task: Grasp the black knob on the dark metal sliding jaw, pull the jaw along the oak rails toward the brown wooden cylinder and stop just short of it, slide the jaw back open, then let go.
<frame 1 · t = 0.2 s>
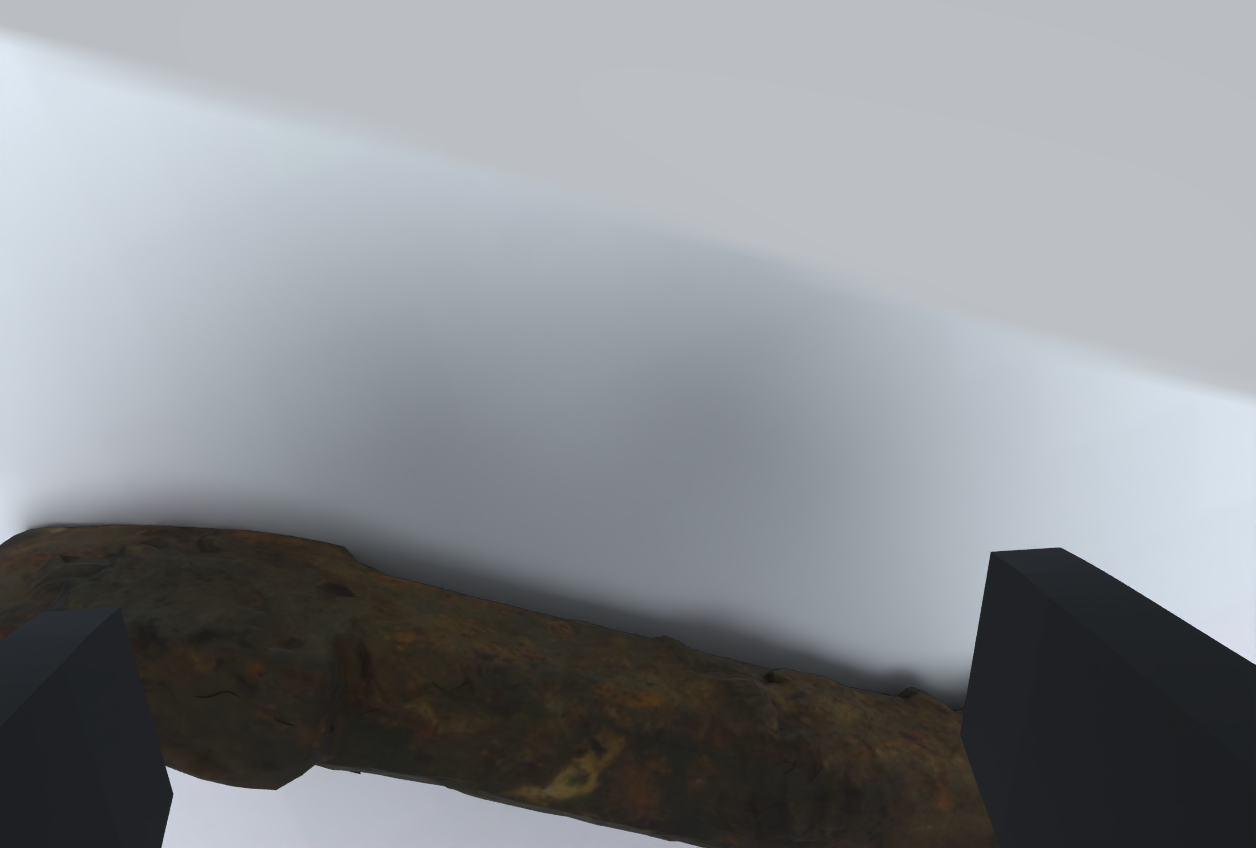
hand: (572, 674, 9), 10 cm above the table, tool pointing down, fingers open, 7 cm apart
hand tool: (528, 667, 21), on the table
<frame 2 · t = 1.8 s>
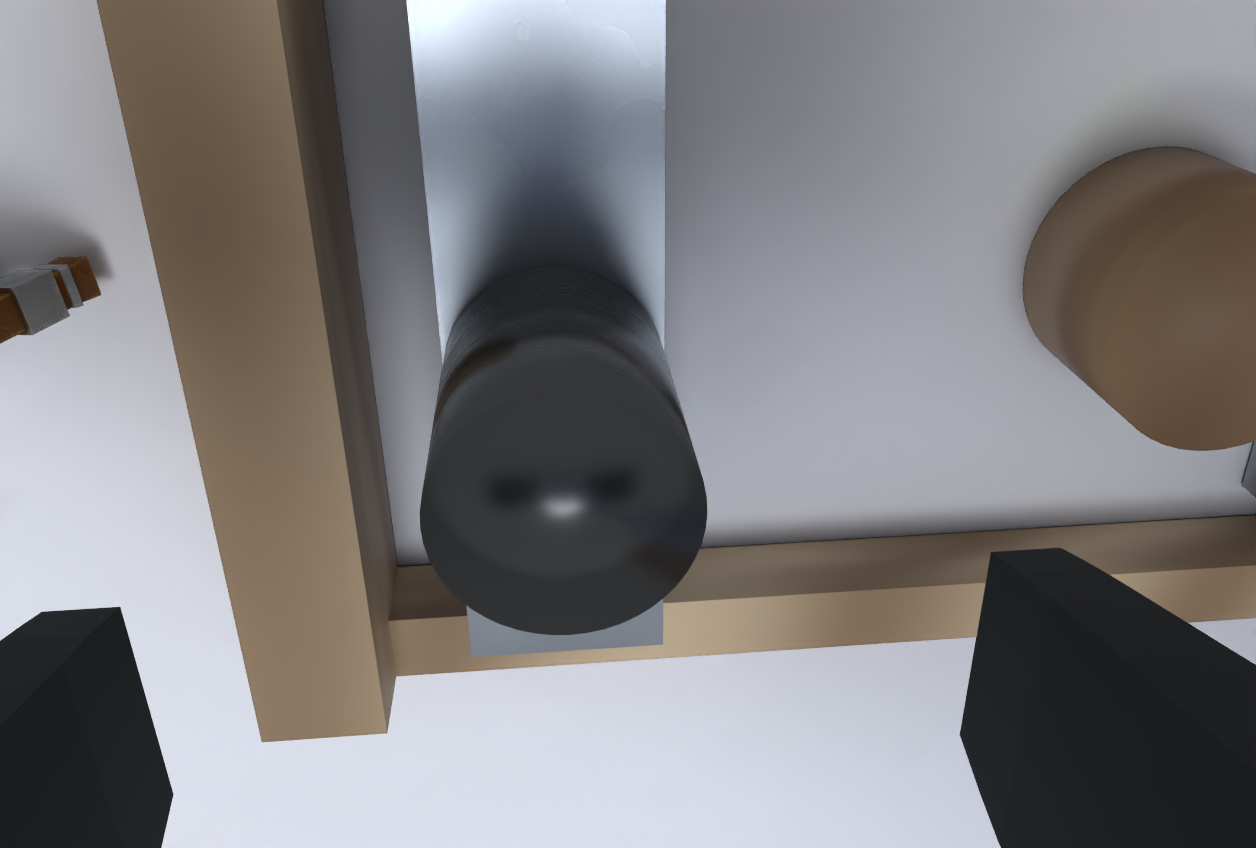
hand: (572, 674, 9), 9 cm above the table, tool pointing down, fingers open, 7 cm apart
sliding jaw: (555, 383, 14), point 4 cm above the table, slide at 0.0 cm
vise frame: (938, 274, 18), on the table
brown wooden cylinder: (1136, 263, 18), resting in vise frame
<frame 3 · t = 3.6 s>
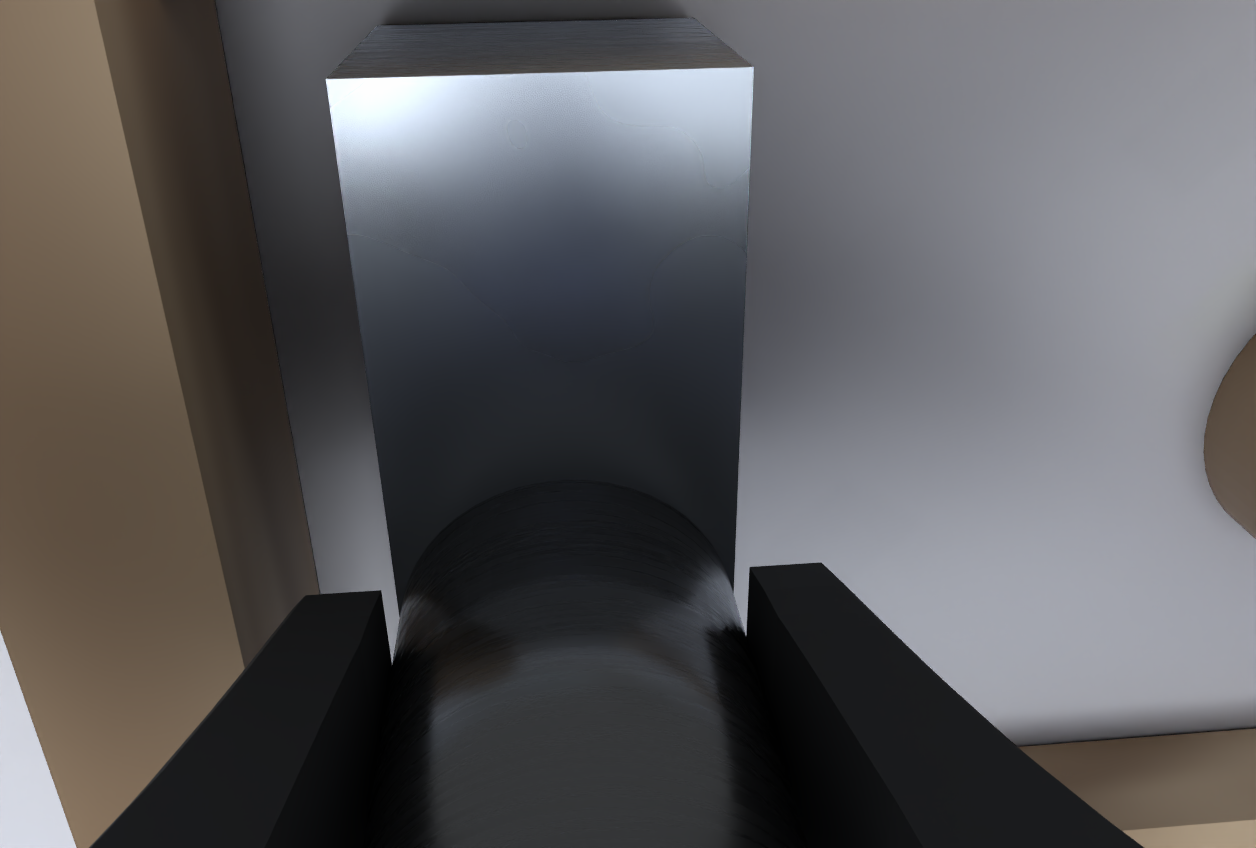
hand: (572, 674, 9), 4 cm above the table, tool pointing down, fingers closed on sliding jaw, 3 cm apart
sliding jaw: (571, 651, 9), point 4 cm above the table, slide at 0.0 cm, touching gripper
vise frame: (1092, 424, 13), on the table
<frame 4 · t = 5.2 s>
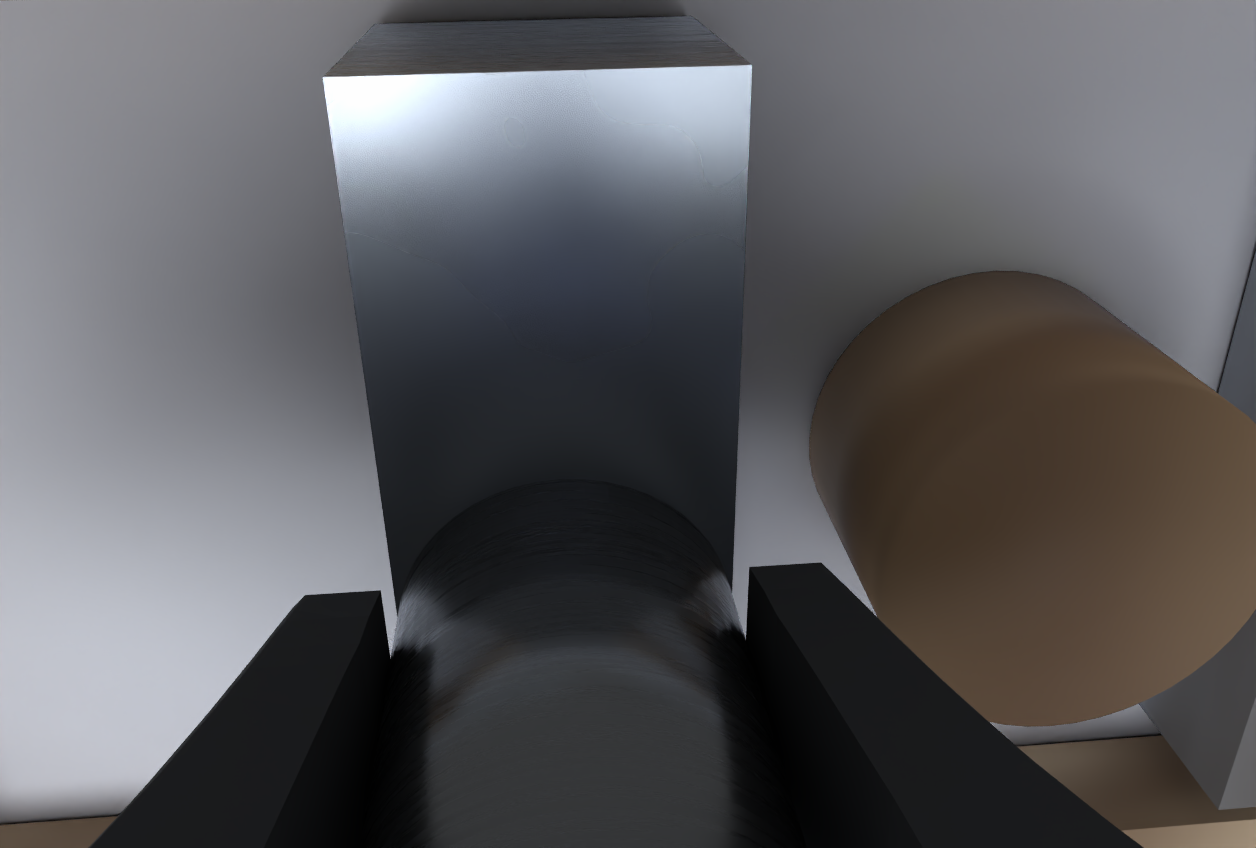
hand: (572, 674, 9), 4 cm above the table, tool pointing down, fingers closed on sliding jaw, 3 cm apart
sliding jaw: (569, 651, 9), point 4 cm above the table, slide at 5.0 cm, touching gripper
vise frame: (685, 446, 13), on the table
brown wooden cylinder: (970, 426, 13), resting in vise frame
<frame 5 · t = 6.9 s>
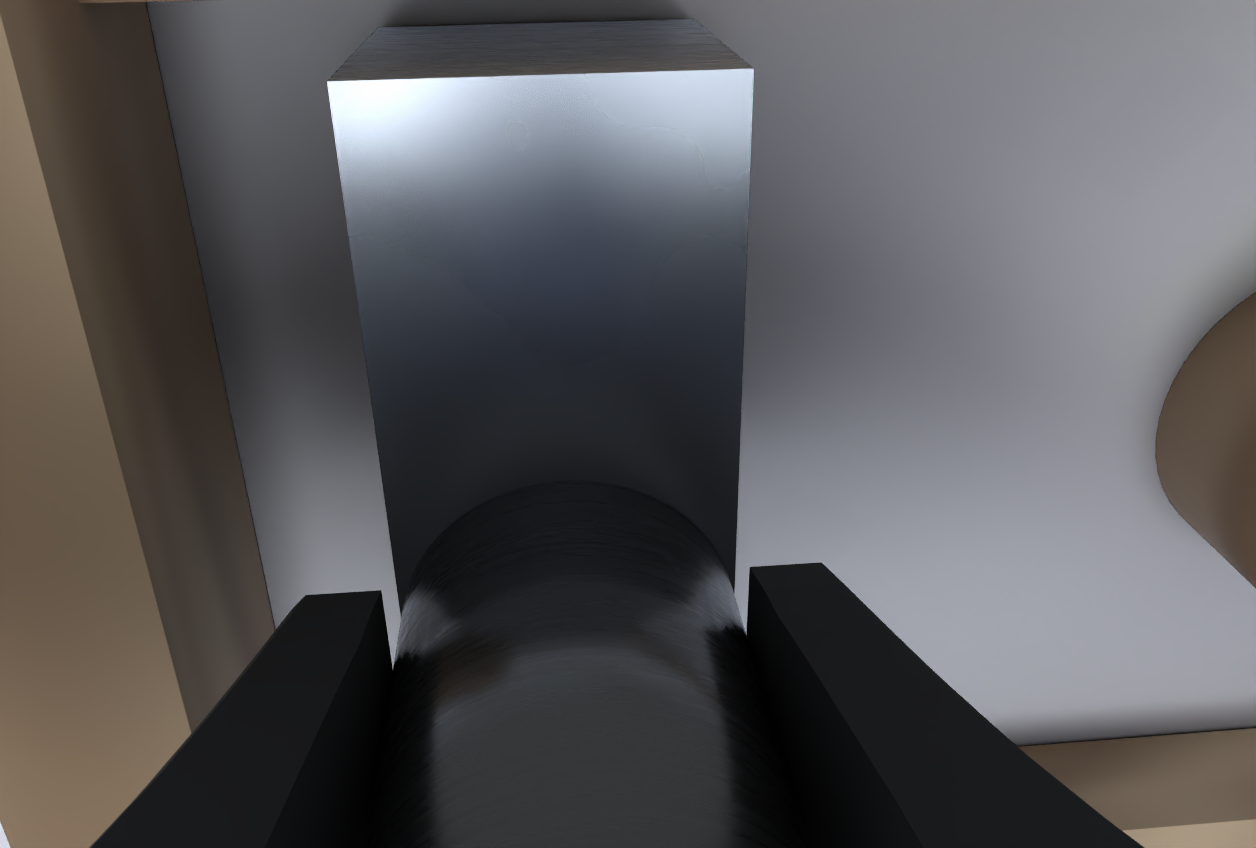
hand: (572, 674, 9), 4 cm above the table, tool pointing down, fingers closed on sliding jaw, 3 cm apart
sliding jaw: (572, 651, 9), point 4 cm above the table, slide at 0.6 cm, touching gripper
vise frame: (1042, 427, 13), on the table
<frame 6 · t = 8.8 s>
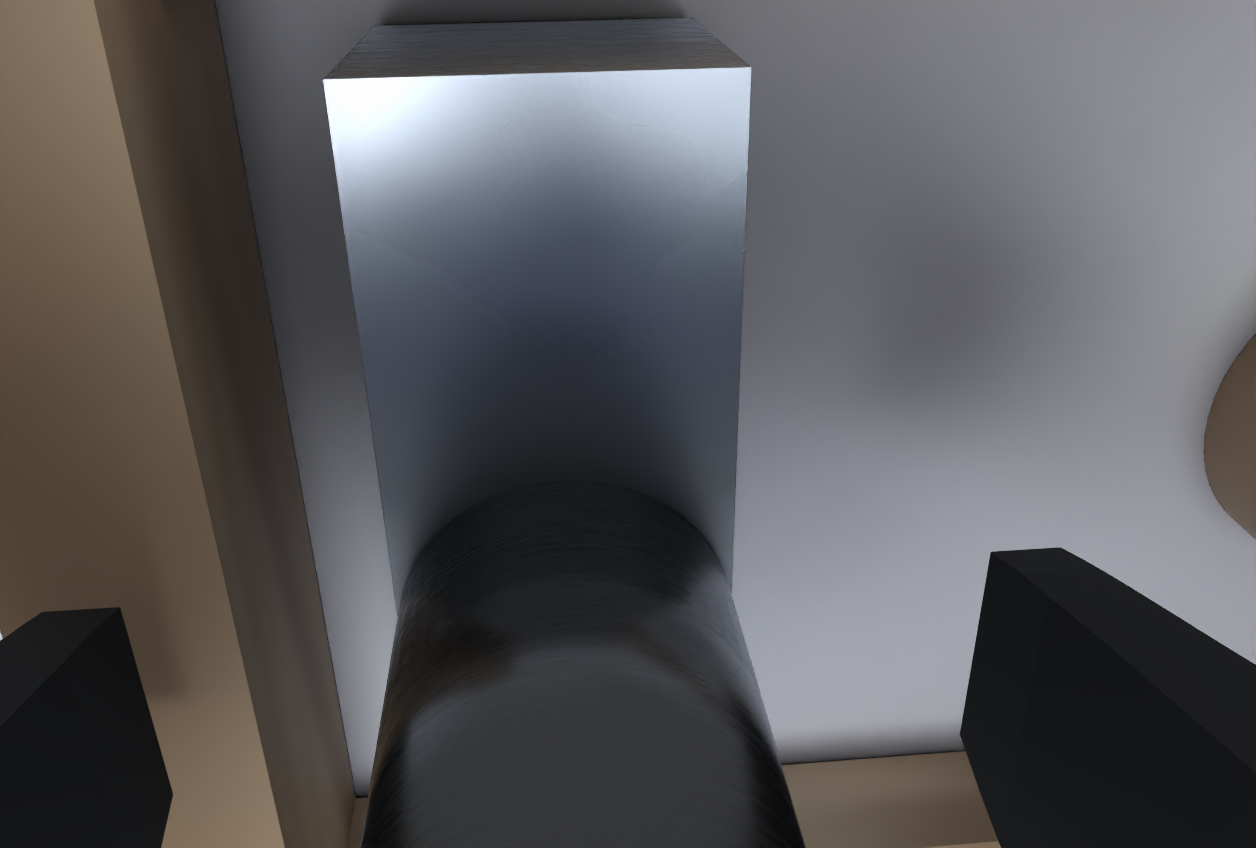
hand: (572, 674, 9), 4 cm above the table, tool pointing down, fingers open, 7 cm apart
sliding jaw: (569, 651, 9), point 4 cm above the table, slide at 0.0 cm
vise frame: (1092, 425, 13), on the table
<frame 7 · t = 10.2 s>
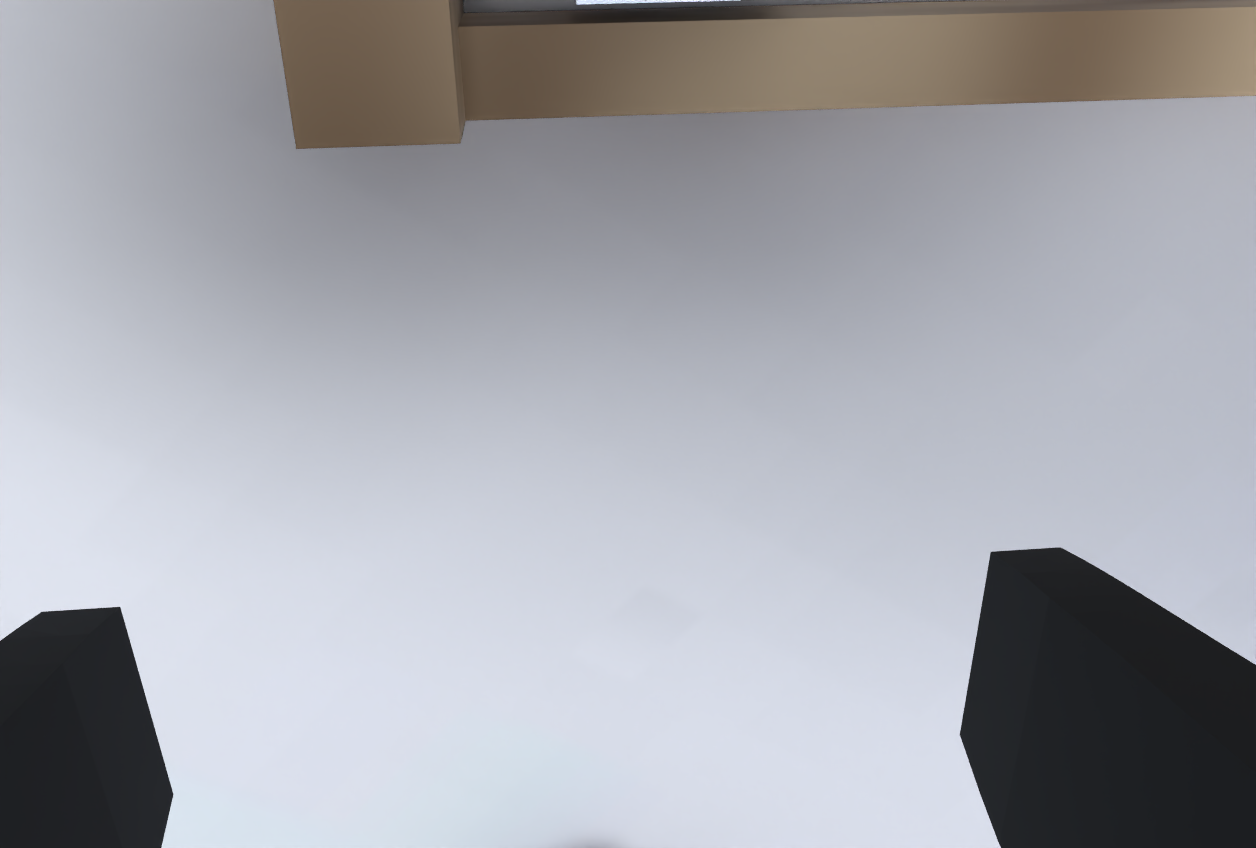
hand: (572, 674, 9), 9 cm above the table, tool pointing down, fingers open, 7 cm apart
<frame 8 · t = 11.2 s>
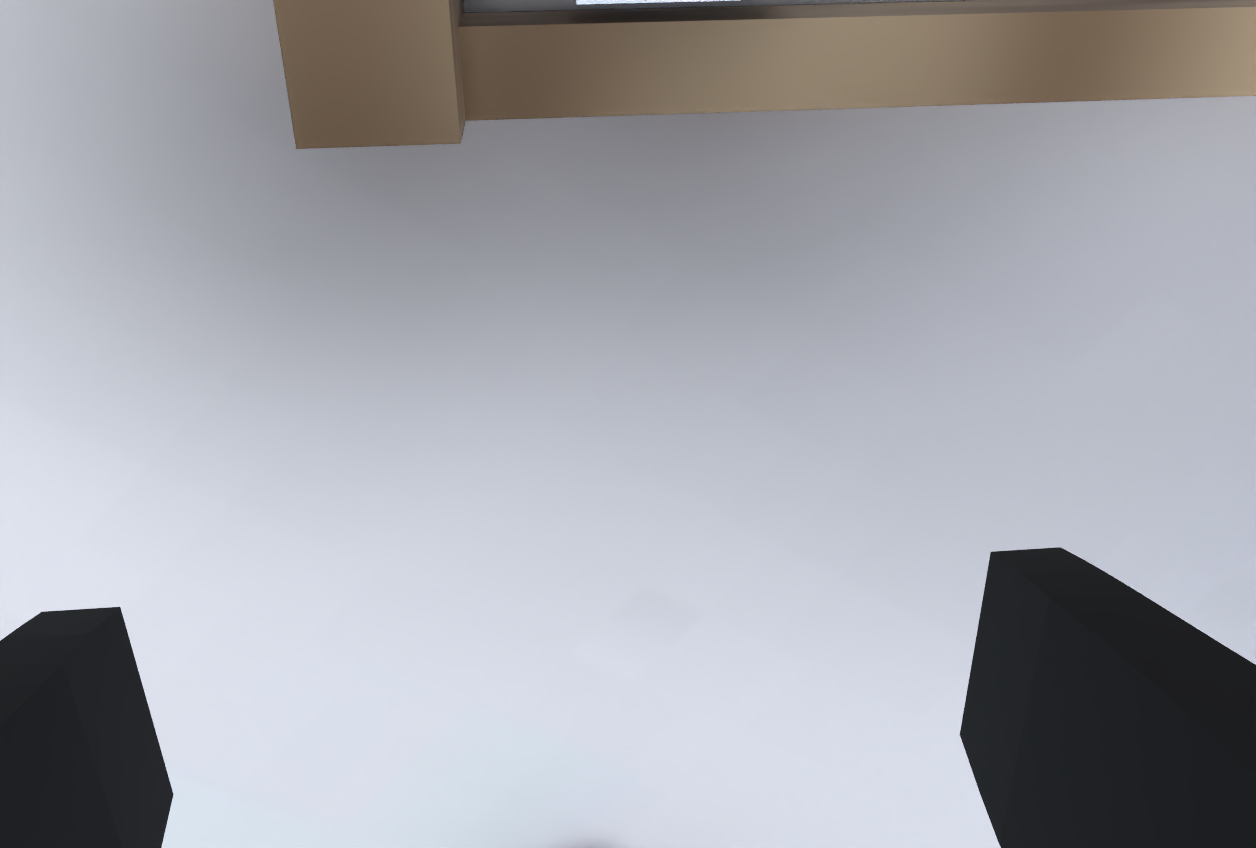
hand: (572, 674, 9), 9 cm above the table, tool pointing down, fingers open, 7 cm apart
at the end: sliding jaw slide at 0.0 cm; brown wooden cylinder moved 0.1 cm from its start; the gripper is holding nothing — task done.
